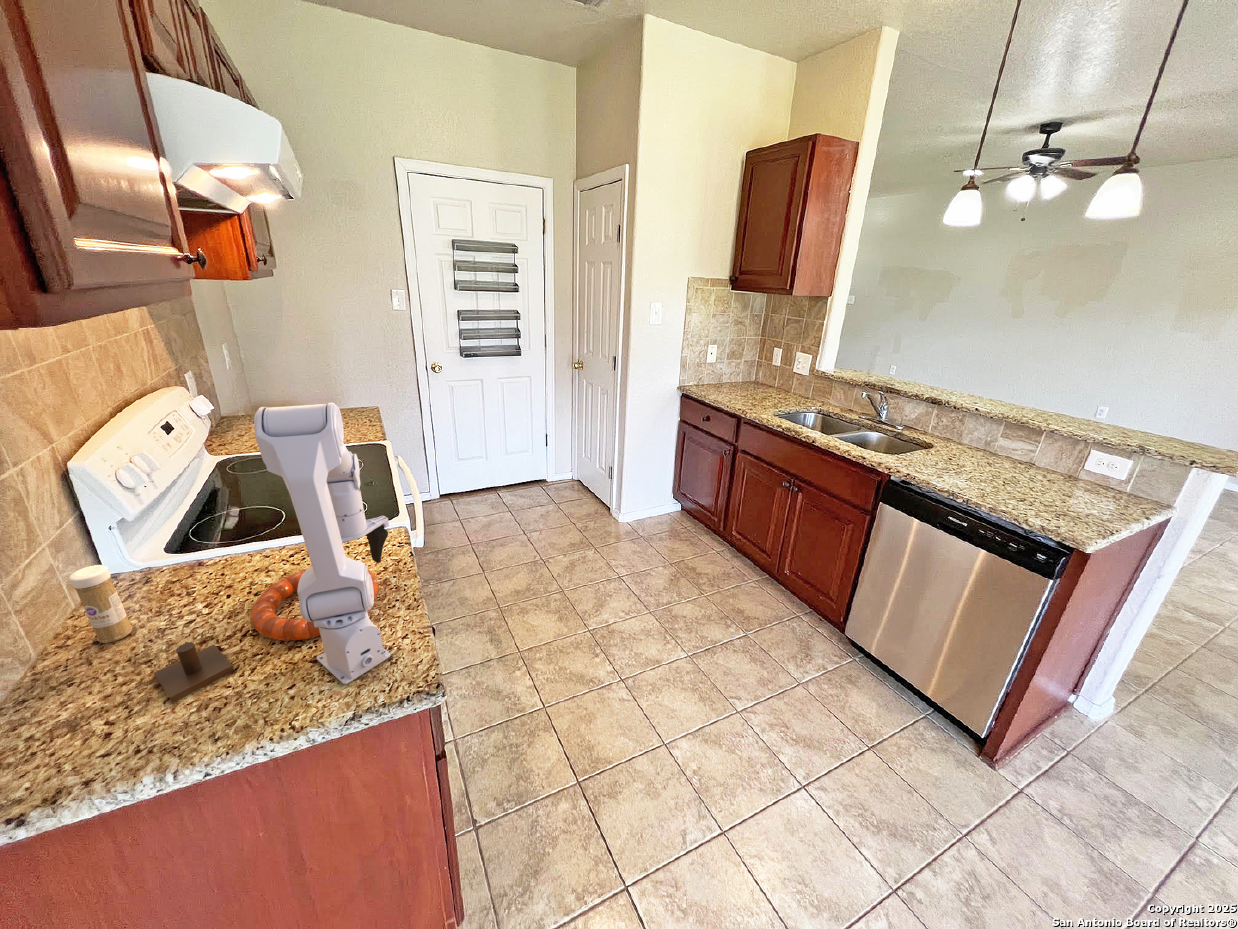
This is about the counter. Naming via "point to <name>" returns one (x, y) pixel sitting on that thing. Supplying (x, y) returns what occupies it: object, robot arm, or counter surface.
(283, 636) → the ring
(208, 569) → the counter surface
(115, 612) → the sprinkles bottle
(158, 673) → the stand
